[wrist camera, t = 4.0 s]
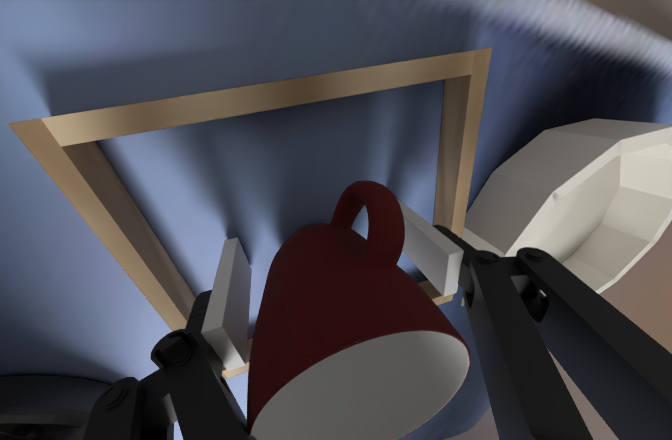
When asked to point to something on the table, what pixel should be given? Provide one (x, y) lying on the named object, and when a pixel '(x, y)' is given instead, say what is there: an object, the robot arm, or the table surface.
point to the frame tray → (112, 197)
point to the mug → (349, 334)
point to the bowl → (580, 198)
